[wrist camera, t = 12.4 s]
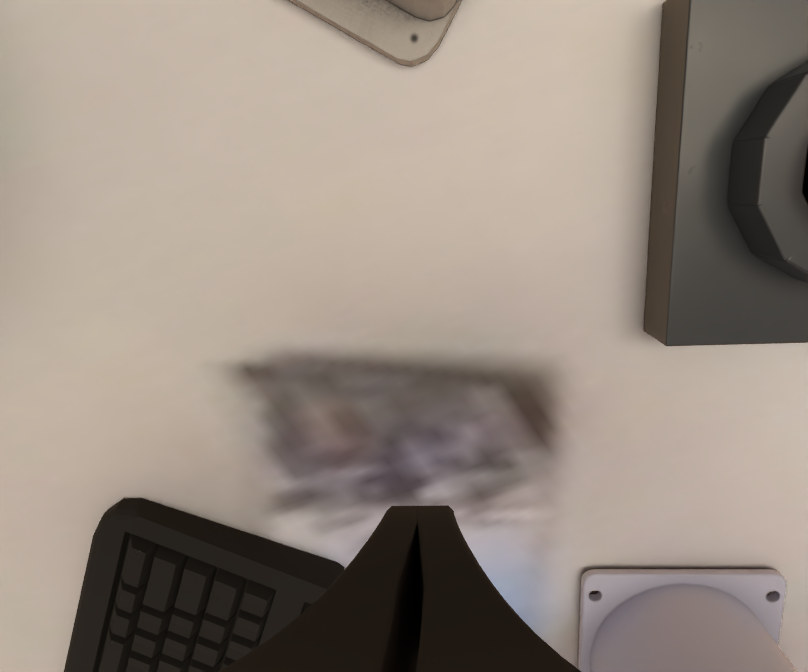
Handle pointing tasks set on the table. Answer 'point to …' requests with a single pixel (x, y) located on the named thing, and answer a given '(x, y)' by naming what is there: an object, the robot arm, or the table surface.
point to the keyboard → (185, 592)
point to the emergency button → (389, 24)
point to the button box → (730, 175)
